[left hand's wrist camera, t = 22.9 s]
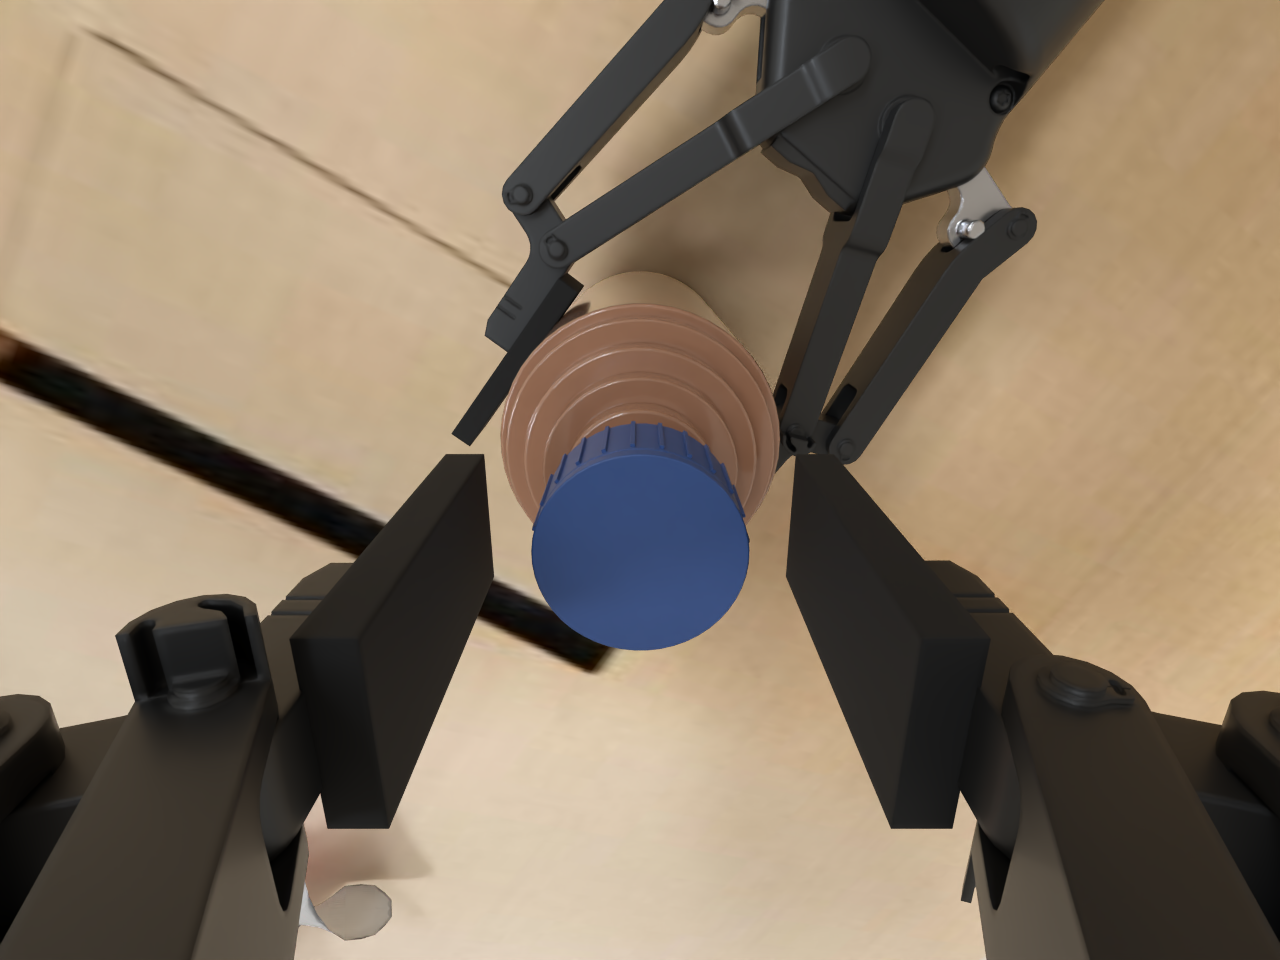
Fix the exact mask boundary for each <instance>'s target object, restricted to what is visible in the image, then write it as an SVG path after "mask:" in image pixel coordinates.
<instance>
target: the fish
mask: <svg viewBox="0 0 1280 960" xmlns="http://www.w3.org/2000/svg"><path fill="white" fill-rule="evenodd" d="M391 917H392V906H391V899H390V898H389V897H388V896H387V894H386V893H385V892H383V891H382V890H380V889H379V888H378V887H376V886H375V885H362V884H360V885H351V886H344V887H343V888H342V889H340V890H339V891H338V892H337V893H335V894H334V895H333V896H331V897H330V898H329V899H327V900H326V901H324V902H323V903H321V904H320V905H318V906H315V907H314V906H313V904H312V902H311V900H310V898H309V895H308V891H307V887H306V883H305V884H304V891H303V898H302V905H301V912H300V919H299V926H300V925H307V926H313V927H318V928H322V929H325V930H327V931H329V932H332V933H334V934H336V935H337V936H339V937H340V938H342V939H344V940H355V939H363V938H366V937H369V936H372V935H375V934H376V933H377V932H378V931H379V930H381V929H382V928H383V927H384V926H385V925H386V924H387V922H388V921H389V920H390V918H391ZM299 926H298V927H299Z"/></svg>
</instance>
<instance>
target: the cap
mask: <svg viewBox="0 0 1280 960" xmlns="http://www.w3.org/2000/svg"><path fill="white" fill-rule="evenodd" d="M744 517H746V516H745V513H744V510H743V507H742V504H741V502H740V499H739V496H738V493H737V491H736V488H735V485H732V484H731V481H730V478H729V475H728V472H727V470H726V467H725V465H724V463H721V464H720V463H719V461H718V460H717V459H716V457H715V456H714V455H713V454H712V453H711V452H710V449H709V446H708V445H707V444H705V445H704V446H703V445H702V444H701V443H699V442H698V441H697V440H695V439H694V438H692V437H690V436H688V433H687V432H686V431H684V430H683V432H680V431H677V430H675V429H672V428H669V427H665V426H662V423H659V422H658V425H655V424H636V422H635V421H631V424H626V425H620V426H616V427H612V428H610V427H609V426H606V427H605V430H603V431H601V432H598V433H596V434H594V435H592V436H591V437H589V438H587V439H586V437H584V438H582V440H581V443H580V444H579V445H577V446H576V447H575V448H574V449H573V450H572V451H571V452H570V453H569V454H568V455H567V454H566V453H565V454H564V455H563V457H562V460H561V463H560V465H559V467H558V468H557V470H556V472H555V474H554V475H553V474H551V475H550V477H549V480H548V482H547V485H546V488H545V491H544V493H543V496H542V499H541V502H540V508H539V510H538V513H537V516H536V519H535V522H534V524H533V528H532V530H533V531H534V534H533V538H532V550H531V552H532V565H533V570H534V575H535V578H536V581H537V584H538V586H539V589H540V591H541V593H542V595H543V597H544V598H545V600H546V602H547V603H548V604H549V606H550V607H551V609H552V610H553V611H554V612H555V613H556V614H557V616H558V617H559V618H560V619H561V620H562V621H563V622H565V623H566V624H567V625H568V626H569V627H571V628H572V629H573V630H575V631H576V632H578V633H580V634H581V635H583V636H585V637H587V638H589V639H591V640H593V641H595V642H598V643H601V644H603V645H606V646H610V647H614V648H619V649H626V650H655V649H662V648H666V647H671V646H675V645H677V644H680V643H683V642H686V641H688V640H690V639H692V638H694V637H696V636H698V635H700V634H701V633H703V632H704V631H706V630H707V629H709V628H710V627H711V626H713V625H714V624H715V623H716V622H717V621H719V620H720V619H721V618H722V616H723V615H724V614H725V613H726V612H727V611H728V610H729V608H730V607H731V606H732V604H733V603H734V601H735V600H736V598H737V596H738V594H739V592H740V590H741V589H742V586H743V583H744V580H745V578H746V574H747V569H748V564H749V536H748V534H747V530H746V526H745V523H744V520H743V518H744Z"/></svg>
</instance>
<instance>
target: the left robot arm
mask: <svg viewBox="0 0 1280 960" xmlns="http://www.w3.org/2000/svg"><path fill="white" fill-rule="evenodd" d="M493 578H494V570H493V558H492V545H491V533H490V521H489V508H488V496H487V484H486V471H485V459H484V454H446V455H445V456H444V457H443V458H442V460H441V461H440V462H439V463H438V464H437V465H436V467H435V468H434V469H433V470H432V471H431V472H430V474H429V475H428V476H427V477H426V478H425V480H424V481H423V482H422V483H421V484H420V485H419V487H418V488H417V489H416V490H415V491H414V492H413V494H412V495H411V496H410V497H409V498H408V500H407V501H406V502H405V503H404V504H403V505H402V507H401V508H400V509H399V510H398V511H397V512H396V514H395V515H394V516H393V517H392V518H391V520H390V521H389V522H388V523H387V524H386V525H385V527H384V528H383V529H382V530H381V531H380V532H379V534H378V535H377V536H376V537H375V538H374V540H373V541H372V542H371V543H370V544H369V545H368V547H367V548H366V549H365V550H364V551H363V552H362V554H361V555H360V556H359V557H358V558H357V560H356V561H355V562H354V563H330V564H328V565H326V566H325V567H323V568H321V569H319V570H317V571H316V572H314V573H312V574H310V575H308V576H307V577H305V578H303V579H302V580H301V581H300V582H299V583H298V584H297V585H296V586H295V588H294V589H293V590H292V591H291V592H290V593H289V594H288V595H287V596H286V600H282V601H281V602H280V603H279V604H278V605H277V606H276V607H275V608H274V610H273V611H272V614H271V615H268V616H267V617H266V618H265V619H264V620H263V621H262V622H261V623H260V621H259V616H258V612H257V607H256V604H255V603H253V602H252V601H250V600H249V599H248V598H246V597H242V596H236V595H230V594H219V595H203V596H198V597H193V598H189V599H184V600H179V601H175V602H173V603H170V604H167V605H164V606H162V607H159V608H156V609H153V610H151V611H149V612H147V613H145V614H143V615H142V616H140V617H138V618H136V619H134V620H133V621H131V622H129V623H128V624H127V625H126V626H125V627H124V628H123V629H122V630H121V631H120V632H118V633H117V634H116V635H115V636H116V640H117V643H118V646H119V650H120V653H121V656H122V660H123V663H124V666H125V670H126V673H127V676H128V679H129V683H130V686H131V689H132V693H133V696H134V699H135V703H134V704H133V706H132V708H131V710H130V712H129V713H128V715H126V716H122V717H116V718H111V719H106V720H101V721H96V722H90V723H85V724H80V725H75V726H70V727H65V728H59V727H58V724H57V721H56V718H55V715H54V713H53V710H52V707H51V704H50V703H49V702H47V701H46V700H44V699H43V698H41V697H40V696H34V695H22V694H15V695H8V696H1V697H0V960H294V954H295V947H296V940H297V933H298V926H299V919H300V912H301V905H302V898H303V891H304V884H305V877H306V870H307V863H308V856H309V851H308V843H307V837H306V832H305V828H304V821H305V819H306V817H307V816H308V814H309V812H310V810H311V809H312V807H313V805H314V803H315V801H316V800H317V798H318V796H319V794H321V799H322V803H323V808H324V813H325V818H326V823H327V828H328V829H389V827H390V825H391V822H392V820H393V818H394V815H395V813H396V810H397V808H398V806H399V803H400V801H401V798H402V796H403V794H404V791H405V789H406V786H407V784H408V782H409V779H410V777H411V774H412V772H413V770H414V767H415V765H416V762H417V760H418V758H419V755H420V753H421V750H422V748H423V746H424V743H425V741H426V738H427V736H428V734H429V731H430V729H431V726H432V724H433V722H434V719H435V717H436V714H437V712H438V710H439V707H440V705H441V702H442V700H443V698H444V695H445V693H446V690H447V688H448V686H449V683H450V681H451V678H452V676H453V674H454V671H455V669H456V666H457V664H458V662H459V659H460V657H461V654H462V652H463V650H464V647H465V645H466V642H467V640H468V638H469V635H470V633H471V630H472V628H473V626H474V623H475V621H476V618H477V616H478V614H479V611H480V609H481V606H482V604H483V602H484V599H485V597H486V594H487V592H488V590H489V587H490V585H491V582H492V580H493ZM786 578H787V580H788V582H789V585H790V587H791V590H792V592H793V594H794V597H795V599H796V602H797V604H798V606H799V609H800V611H801V614H802V616H803V618H804V621H805V623H806V626H807V628H808V630H809V633H810V635H811V638H812V640H813V642H814V645H815V647H816V650H817V652H818V654H819V657H820V659H821V662H822V664H823V666H824V669H825V671H826V674H827V676H828V678H829V681H830V683H831V686H832V688H833V690H834V693H835V695H836V698H837V700H838V702H839V705H840V707H841V710H842V712H843V714H844V717H845V719H846V722H847V724H848V726H849V729H850V731H851V734H852V736H853V738H854V741H855V743H856V746H857V748H858V750H859V753H860V755H861V758H862V760H863V762H864V765H865V767H866V770H867V772H868V774H869V777H870V779H871V782H872V784H873V786H874V789H875V791H876V794H877V796H878V798H879V801H880V803H881V806H882V808H883V810H884V813H885V815H886V818H887V820H888V822H889V825H890V827H891V829H952V828H953V823H954V818H955V813H956V808H957V803H958V799H959V794H960V791H961V793H962V794H963V796H964V798H965V800H966V801H967V803H968V805H969V807H970V808H971V810H972V812H973V814H974V815H975V817H976V819H977V823H976V828H975V832H974V837H973V842H972V846H971V851H970V855H969V860H968V865H967V869H966V874H965V878H964V883H963V889H962V896H961V901H964V902H968V903H971V901H972V897H973V892H974V888H975V887H976V889H977V896H978V903H979V910H980V917H981V924H982V931H983V938H984V945H985V952H986V959H987V960H1280V693H1275V692H1268V691H1255V692H1243V693H1241V694H1239V695H1238V696H1236V697H1235V698H1233V699H1232V700H1231V701H1230V704H1229V707H1228V710H1227V713H1226V715H1225V718H1224V721H1223V724H1222V725H1217V724H1212V723H1207V722H1202V721H1196V720H1191V719H1186V718H1181V717H1176V716H1170V715H1165V714H1160V713H1156V712H1152V711H1151V710H1150V709H1149V707H1148V705H1147V703H1146V701H1145V700H1144V699H1143V698H1142V697H1141V695H1140V694H1139V693H1138V692H1137V691H1136V690H1135V689H1134V687H1133V686H1132V685H1130V684H1129V683H1127V682H1126V681H1124V680H1123V679H1121V678H1119V677H1118V676H1116V675H1115V674H1113V673H1112V672H1110V671H1107V670H1105V669H1103V668H1100V667H1098V666H1095V665H1093V664H1091V663H1088V662H1085V661H1081V660H1077V659H1073V658H1069V657H1065V656H1059V655H1053V654H1052V653H1051V652H1050V651H1049V650H1048V649H1047V648H1046V647H1045V646H1044V645H1043V644H1042V643H1041V642H1040V641H1039V640H1038V639H1037V638H1036V636H1035V635H1034V634H1033V633H1032V632H1031V631H1030V630H1029V629H1028V628H1027V627H1026V626H1025V625H1024V624H1023V623H1022V622H1021V621H1020V620H1019V619H1018V618H1017V617H1016V616H1015V615H1014V614H1013V613H1009V608H1008V607H1007V606H1006V605H1005V604H1004V603H1003V602H1002V601H1001V600H1000V599H999V598H995V596H994V595H995V594H994V593H993V592H992V591H991V590H990V589H989V588H988V587H987V586H986V585H985V584H984V583H983V581H982V580H981V579H980V578H979V577H978V576H976V575H975V574H973V573H971V572H969V571H967V570H965V569H964V568H962V567H960V566H958V565H956V564H955V563H953V562H951V561H924V560H923V558H922V557H921V556H920V555H919V554H918V552H917V551H916V550H915V549H914V548H913V547H912V545H911V544H910V543H909V542H908V541H907V540H906V538H905V537H904V536H903V535H902V534H901V532H900V531H899V530H898V529H897V528H896V527H895V525H894V524H893V523H892V522H891V521H890V520H889V518H888V517H887V516H886V515H885V514H884V512H883V511H882V510H881V509H880V508H879V507H878V505H877V504H876V503H875V502H874V501H873V500H872V498H871V497H870V496H869V495H868V494H867V492H866V491H865V490H864V489H863V488H862V487H861V485H860V484H859V483H858V482H857V481H856V480H855V478H854V477H853V476H852V475H851V474H850V472H849V471H848V470H847V469H846V468H845V467H844V465H843V464H842V463H841V462H840V461H839V460H838V458H837V457H836V456H835V455H834V454H796V459H795V471H794V484H793V496H792V508H791V521H790V533H789V545H788V558H787V570H786Z"/></svg>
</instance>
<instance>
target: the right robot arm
mask: <svg viewBox="0 0 1280 960" xmlns="http://www.w3.org/2000/svg"><path fill="white" fill-rule="evenodd" d="M1103 1H1104V0H664V1H663V2H662V3H661V4H660V5H659V7H658V8H657V9H656V10H655V11H654V12H653V13H652V15H651V16H650V17H649V18H648V19H647V20H646V21H645V23H644V24H643V25H642V26H641V27H640V28H639V29H638V31H637V32H636V33H635V34H634V35H633V36H632V37H631V39H630V40H629V41H628V42H627V43H626V44H625V45H624V47H623V48H622V49H621V50H620V51H619V52H618V53H617V55H616V56H615V57H614V58H613V59H612V60H611V61H610V63H609V64H608V65H607V66H606V67H605V68H604V69H603V71H602V72H601V73H600V74H599V75H598V76H597V77H596V79H595V80H594V81H593V82H592V83H591V84H590V85H589V87H588V88H587V89H586V90H585V91H584V92H583V93H582V95H581V96H580V97H579V98H578V99H577V100H576V101H575V103H574V104H573V105H572V106H571V107H570V108H569V109H568V111H567V112H566V113H565V114H564V115H563V116H562V117H561V119H560V120H559V121H558V122H557V123H556V124H555V125H554V127H553V128H552V129H551V130H550V131H549V132H548V133H547V135H546V136H545V137H544V138H543V139H542V140H541V141H540V143H539V144H538V145H537V146H536V147H535V148H534V149H533V151H532V152H531V153H530V154H529V155H528V156H527V157H526V158H525V160H524V161H523V162H522V163H521V164H520V165H519V166H518V168H517V169H516V170H515V171H514V172H513V173H512V174H511V176H510V177H509V178H508V179H507V180H506V182H505V184H504V186H503V190H502V197H503V201H504V204H505V205H506V207H507V208H508V210H510V211H511V212H513V214H514V215H515V217H516V219H517V220H518V222H519V223H520V225H521V226H522V228H523V229H524V231H525V232H526V234H527V236H528V238H529V241H530V255H529V258H528V260H527V262H526V264H525V265H524V267H523V268H522V270H521V271H520V273H519V274H518V276H517V277H516V279H515V280H514V282H513V283H512V285H511V286H510V288H509V289H508V291H507V292H506V294H505V295H504V297H503V298H502V300H501V301H500V302H499V304H498V306H497V307H496V308H495V310H494V311H493V313H492V314H491V316H490V317H489V319H488V322H487V327H486V332H485V336H486V337H487V338H489V339H490V340H491V341H493V342H494V343H496V344H497V345H498V346H500V347H501V348H503V349H504V350H505V351H507V354H506V355H505V357H504V358H503V360H502V361H501V363H500V364H499V365H498V367H497V368H496V370H495V371H494V373H493V374H492V376H491V377H490V379H489V380H488V381H487V383H486V384H485V386H484V387H483V389H482V390H481V392H480V393H479V395H478V396H477V397H476V399H475V400H474V402H473V403H472V405H471V406H470V408H469V409H468V411H467V412H466V413H465V415H464V416H463V418H462V419H461V421H460V422H459V424H458V425H457V426H456V428H455V429H454V431H453V432H452V434H453V435H454V436H455V437H457V438H458V439H460V440H461V441H463V442H464V443H466V444H467V445H469V446H470V445H471V444H472V443H473V442H474V440H475V439H476V438H477V436H478V435H479V434H480V433H481V431H482V430H483V429H484V427H485V426H486V425H487V423H488V422H489V420H490V419H491V418H492V416H493V415H494V413H495V412H496V410H497V409H498V408H499V406H500V405H501V403H502V402H503V401H504V399H505V398H506V396H507V395H508V393H509V391H510V388H511V385H512V383H513V381H514V379H515V377H516V375H517V374H518V372H519V370H520V368H521V366H522V365H523V364H524V362H525V361H526V360H527V358H528V357H529V356H530V354H531V353H532V352H533V351H534V349H535V348H536V347H537V346H538V345H539V344H540V342H541V341H542V340H543V339H544V338H545V337H546V335H547V334H548V333H549V332H550V331H551V330H552V328H553V327H554V326H555V325H556V324H557V322H558V321H559V320H560V319H561V318H562V317H563V315H564V314H565V312H566V311H567V310H568V308H569V307H570V305H571V304H572V302H573V301H574V300H575V298H576V297H577V295H578V294H579V292H580V291H581V290H582V288H583V287H584V285H582V284H581V283H580V282H578V281H577V280H576V279H574V278H573V277H572V276H571V275H569V274H568V271H569V270H570V268H571V267H572V266H573V264H574V263H575V262H576V261H577V260H579V259H580V258H582V257H584V256H585V255H587V254H588V253H590V252H591V251H593V250H595V249H596V248H598V247H599V246H601V245H602V244H604V243H606V242H607V241H609V240H610V239H612V238H613V237H615V236H617V235H618V234H620V233H621V232H623V231H624V230H626V229H628V228H629V227H631V226H632V225H634V224H635V223H637V222H639V221H640V220H642V219H643V218H645V217H646V216H648V215H650V214H651V213H653V212H654V211H656V210H658V209H659V208H661V207H662V206H664V205H665V204H667V203H669V202H670V201H672V200H673V199H675V198H676V197H678V196H680V195H681V194H683V193H684V192H686V191H687V190H689V189H691V188H692V187H694V186H695V185H697V184H698V183H700V182H702V181H703V180H705V179H706V178H708V177H709V176H711V175H713V174H714V173H716V172H717V171H719V170H720V169H722V168H724V167H725V166H727V165H728V164H730V163H732V162H733V161H735V160H736V159H738V158H739V157H741V156H743V155H744V154H746V153H747V152H749V151H751V150H752V149H754V148H755V147H757V146H758V145H761V147H762V148H763V150H762V151H761V153H762V154H763V155H764V156H765V157H766V158H768V159H769V160H770V161H771V162H772V163H773V164H774V165H776V166H777V167H778V168H780V169H782V170H785V171H787V172H789V173H791V174H793V175H796V176H798V177H799V178H800V179H801V180H802V182H803V183H804V185H805V187H806V188H807V190H808V191H809V193H810V194H811V196H812V197H813V199H815V200H816V201H817V202H818V203H819V204H820V205H821V206H823V207H824V208H825V209H826V210H827V211H828V212H831V214H830V216H829V219H828V222H827V225H826V228H825V232H824V235H823V247H822V251H821V254H820V257H819V260H818V263H817V266H816V269H815V272H814V275H813V278H812V281H811V284H810V286H809V289H808V292H807V295H806V298H805V301H804V304H803V307H802V310H801V313H800V316H799V319H798V322H797V325H796V328H795V331H794V334H793V337H792V340H791V343H790V346H789V349H788V352H787V355H786V358H785V361H784V363H783V366H782V369H781V372H780V375H779V378H778V381H777V384H776V387H775V390H774V393H773V397H774V400H775V403H776V408H777V413H778V419H779V429H780V445H779V456H778V461H777V466H776V470H775V473H776V472H777V471H778V469H779V468H780V467H781V466H782V465H783V464H784V463H785V461H786V460H787V459H788V458H789V457H790V456H792V455H794V456H796V454H809V453H810V452H812V453H816V454H834V455H835V456H836V457H837V458H838V460H839V461H840V462H841V463H842V464H850V463H852V462H854V461H856V460H857V459H858V458H859V457H860V456H861V454H862V453H863V451H864V450H865V448H866V447H867V445H868V444H869V443H870V441H871V440H872V438H873V437H874V435H875V434H876V432H877V431H878V430H879V428H880V427H881V425H882V424H883V422H884V421H885V419H886V418H887V416H888V415H889V414H890V412H891V411H892V409H893V408H894V406H895V405H896V403H897V402H898V400H899V399H900V398H901V396H902V395H903V393H904V392H905V390H906V389H907V387H908V386H909V385H910V383H911V382H912V380H913V379H914V377H915V376H916V374H917V373H918V371H919V370H920V369H921V367H922V366H923V364H924V363H925V361H926V360H927V358H928V357H929V355H930V354H931V353H932V351H933V350H934V348H935V347H936V345H937V344H938V342H939V341H940V339H941V338H942V337H943V335H944V334H945V332H946V331H947V329H948V328H949V326H950V325H951V324H952V322H953V321H954V319H955V318H956V316H957V315H958V313H959V312H960V310H961V309H962V308H963V306H964V305H965V303H966V302H967V300H968V299H969V297H970V296H971V294H972V293H973V292H974V290H975V289H976V287H977V286H978V284H979V283H980V281H981V280H982V279H983V278H984V277H985V276H987V275H988V274H989V273H990V272H992V271H993V270H994V269H995V268H997V267H998V266H999V265H1000V264H1002V263H1003V262H1004V261H1005V260H1007V259H1008V258H1009V257H1010V256H1012V255H1013V254H1014V253H1015V252H1017V251H1018V250H1019V249H1020V248H1022V247H1023V246H1024V245H1026V244H1027V243H1028V242H1029V241H1030V240H1031V238H1032V237H1033V236H1034V234H1035V231H1036V228H1037V220H1036V217H1035V215H1034V213H1032V212H1031V211H1030V210H1029V209H1026V208H1023V207H1021V208H1012V207H1011V206H1010V205H1009V203H1008V202H1007V200H1006V199H1005V197H1004V196H1003V194H1002V193H1001V191H1000V190H999V188H998V186H997V185H996V183H995V182H994V180H993V179H992V177H991V176H990V174H989V173H988V171H987V170H986V168H985V165H986V164H987V162H988V160H989V158H990V155H991V152H992V148H993V144H994V141H995V138H996V135H997V133H998V130H999V128H1000V126H1001V124H1002V123H1003V121H1004V119H1005V118H1006V116H1007V115H1008V114H1009V113H1010V111H1011V110H1012V109H1013V108H1014V107H1015V106H1016V105H1017V104H1018V102H1019V101H1020V100H1021V99H1022V98H1023V97H1024V96H1025V95H1026V93H1027V92H1028V91H1029V90H1030V89H1031V87H1032V86H1033V85H1034V84H1035V83H1036V81H1037V80H1038V79H1039V78H1040V77H1041V75H1042V74H1043V73H1044V72H1045V71H1046V69H1047V68H1048V67H1049V66H1050V65H1051V63H1052V62H1053V61H1054V60H1055V59H1056V57H1057V56H1058V55H1059V54H1060V53H1061V51H1062V50H1063V49H1064V48H1065V47H1066V45H1067V44H1068V43H1069V42H1070V41H1071V39H1072V38H1073V37H1074V36H1075V35H1076V33H1077V32H1078V31H1079V30H1080V29H1081V28H1082V26H1083V25H1084V24H1085V23H1086V22H1087V20H1088V19H1089V18H1090V17H1091V16H1092V14H1093V13H1094V12H1095V11H1096V10H1097V8H1098V7H1099V6H1100V5H1101V4H1102V2H1103ZM747 14H754V15H757V16H759V17H761V22H760V37H759V51H758V66H757V81H756V95H755V96H753V97H752V98H750V99H749V100H747V101H746V102H744V103H743V104H741V105H739V106H738V107H736V108H735V109H733V110H732V111H730V112H729V113H728V114H726V115H725V116H724V117H722V118H721V119H720V120H718V121H717V122H715V123H714V124H712V125H711V126H709V127H708V128H706V129H705V130H703V131H701V132H700V133H698V134H697V135H695V136H694V137H692V138H691V139H689V140H688V141H686V142H685V143H683V144H681V145H680V146H678V147H677V148H675V149H674V150H672V151H671V152H669V153H668V154H666V155H665V156H663V157H661V158H660V159H658V160H657V161H655V162H654V163H652V164H651V165H649V166H648V167H646V168H645V169H643V170H641V171H640V172H638V173H637V174H635V175H634V176H632V177H631V178H629V179H628V180H626V181H625V182H623V183H621V184H620V185H618V186H617V187H615V188H614V189H612V190H611V191H609V192H608V193H606V194H605V195H603V196H601V197H600V198H598V199H597V200H595V201H594V202H592V203H591V204H589V205H588V206H586V207H585V208H583V209H581V210H580V211H578V212H577V213H575V214H574V215H572V216H571V217H569V218H568V219H565V217H564V216H563V214H562V213H561V211H560V209H559V208H558V206H557V205H556V203H555V202H554V201H555V200H556V199H557V198H558V197H559V196H560V195H561V194H562V192H563V191H564V190H565V189H566V188H567V187H568V186H569V185H570V184H571V182H572V181H573V180H574V179H575V178H576V177H577V176H578V175H579V174H580V173H581V171H582V170H583V169H584V168H585V167H586V166H587V165H588V164H589V163H590V162H591V160H592V159H593V158H594V157H595V156H596V155H597V154H598V153H599V152H600V150H601V149H602V148H603V147H604V146H605V145H606V144H607V143H608V142H609V141H610V139H611V138H612V137H613V136H614V135H615V134H616V133H617V132H618V131H619V129H620V128H621V127H622V126H623V125H624V124H625V123H626V122H627V121H628V120H629V118H630V117H631V116H632V115H633V114H634V113H635V112H636V111H637V110H638V109H639V107H640V106H641V105H642V104H643V103H644V102H645V101H646V100H647V99H648V97H649V96H650V95H651V94H652V93H653V92H654V91H655V90H656V89H657V88H658V86H659V85H660V84H661V83H662V82H663V81H664V80H665V79H666V78H667V76H668V75H669V74H670V73H671V72H672V71H673V70H674V69H675V68H676V67H677V65H678V64H679V63H680V62H681V61H682V60H683V58H684V57H685V56H686V55H687V53H688V52H689V51H690V49H691V48H692V46H693V45H694V43H695V42H696V40H697V38H698V37H699V35H700V33H701V31H702V30H703V31H705V32H706V33H709V34H711V35H720V34H723V33H725V32H726V31H728V30H729V29H730V28H731V26H732V25H733V24H734V22H735V21H736V20H737V19H738V18H740V17H741V16H744V15H747ZM946 190H947V192H948V194H949V200H950V202H949V207H948V210H947V212H946V214H945V215H944V216H943V218H942V219H941V220H940V222H939V224H938V226H937V238H938V240H939V243H938V244H937V245H936V246H934V247H933V248H932V250H931V251H930V252H929V253H928V254H927V255H926V256H925V257H924V258H923V260H922V261H921V263H920V264H919V265H918V267H917V268H916V269H915V271H914V272H913V274H912V276H911V277H910V279H909V280H908V282H907V283H906V285H905V286H904V288H903V289H902V291H901V292H900V294H899V295H898V297H897V298H896V300H895V302H894V303H893V305H892V306H891V308H890V309H889V311H888V312H887V314H886V315H885V317H884V318H883V320H882V321H881V323H880V324H879V326H878V328H877V329H876V331H875V332H874V334H873V335H872V337H871V338H870V340H869V341H868V343H867V344H866V346H865V347H864V349H863V350H862V352H861V354H860V355H859V357H858V358H857V360H856V361H855V363H854V364H853V366H852V367H851V369H850V370H849V372H848V373H847V375H846V376H845V378H844V380H843V381H842V383H841V384H840V386H839V387H838V389H837V390H836V392H835V393H834V395H833V396H832V398H831V399H830V401H829V402H828V404H827V406H826V407H825V409H824V410H823V412H822V413H821V411H822V408H823V405H824V403H825V400H826V397H827V394H828V392H829V389H830V386H831V383H832V381H833V378H834V375H835V372H836V370H837V367H838V364H839V362H840V359H841V356H842V353H843V351H844V348H845V345H846V342H847V340H848V337H849V334H850V331H851V329H852V326H853V323H854V320H855V318H856V315H857V312H858V310H859V307H860V304H861V301H862V299H863V296H864V293H865V290H866V288H867V285H868V282H869V279H870V277H871V274H872V271H873V268H874V266H875V263H876V261H877V259H878V257H879V256H880V255H881V254H882V253H883V252H884V250H885V248H886V247H887V244H888V242H889V240H890V237H891V234H892V231H893V229H894V226H895V223H896V221H897V218H898V215H899V212H900V210H901V207H902V204H905V203H908V202H911V201H915V200H918V199H921V198H924V197H927V196H930V195H934V194H937V193H940V192H943V191H946Z"/></svg>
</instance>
